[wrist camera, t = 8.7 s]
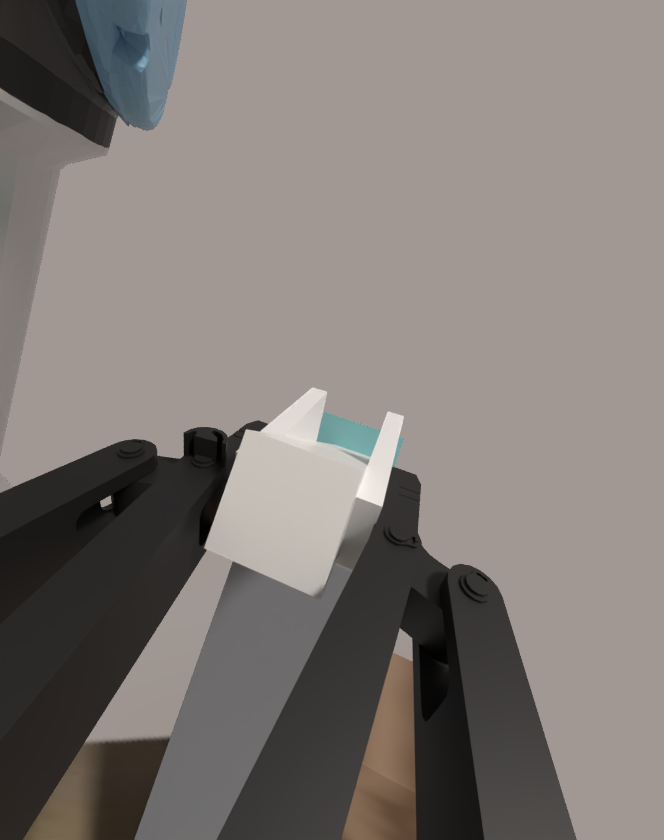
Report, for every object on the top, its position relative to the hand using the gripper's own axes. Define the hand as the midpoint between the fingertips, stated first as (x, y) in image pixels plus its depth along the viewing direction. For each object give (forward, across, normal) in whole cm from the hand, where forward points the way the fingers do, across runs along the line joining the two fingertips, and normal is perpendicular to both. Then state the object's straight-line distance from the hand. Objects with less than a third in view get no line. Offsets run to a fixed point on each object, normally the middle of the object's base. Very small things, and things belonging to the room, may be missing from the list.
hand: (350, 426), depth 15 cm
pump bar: (0, 0, -5) cm, 5 cm away
